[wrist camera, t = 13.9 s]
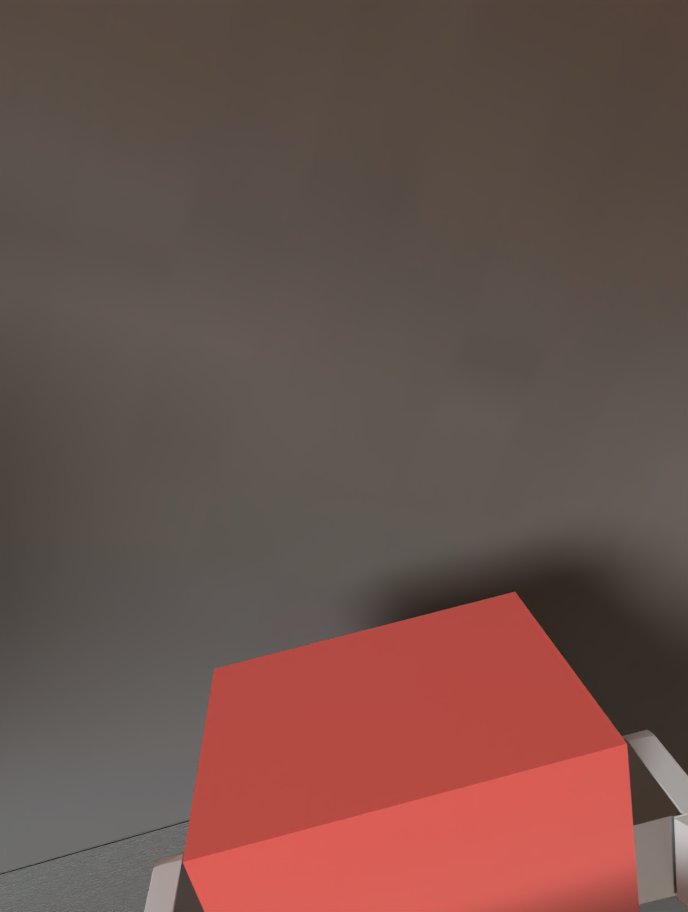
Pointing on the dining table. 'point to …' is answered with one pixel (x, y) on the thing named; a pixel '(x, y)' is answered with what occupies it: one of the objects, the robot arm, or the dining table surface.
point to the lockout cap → (413, 776)
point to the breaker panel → (93, 876)
